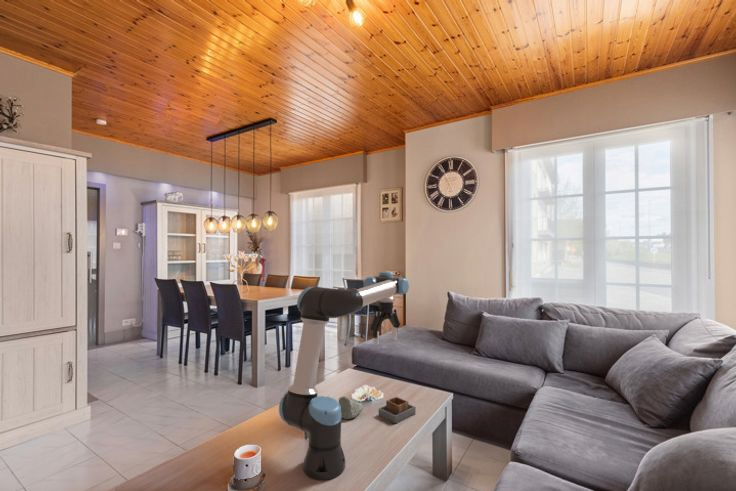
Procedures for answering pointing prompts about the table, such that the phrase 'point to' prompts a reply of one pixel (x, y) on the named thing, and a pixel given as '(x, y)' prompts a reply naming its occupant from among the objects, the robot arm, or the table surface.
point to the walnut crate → (396, 405)
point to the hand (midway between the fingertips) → (385, 341)
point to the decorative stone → (349, 408)
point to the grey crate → (399, 417)
